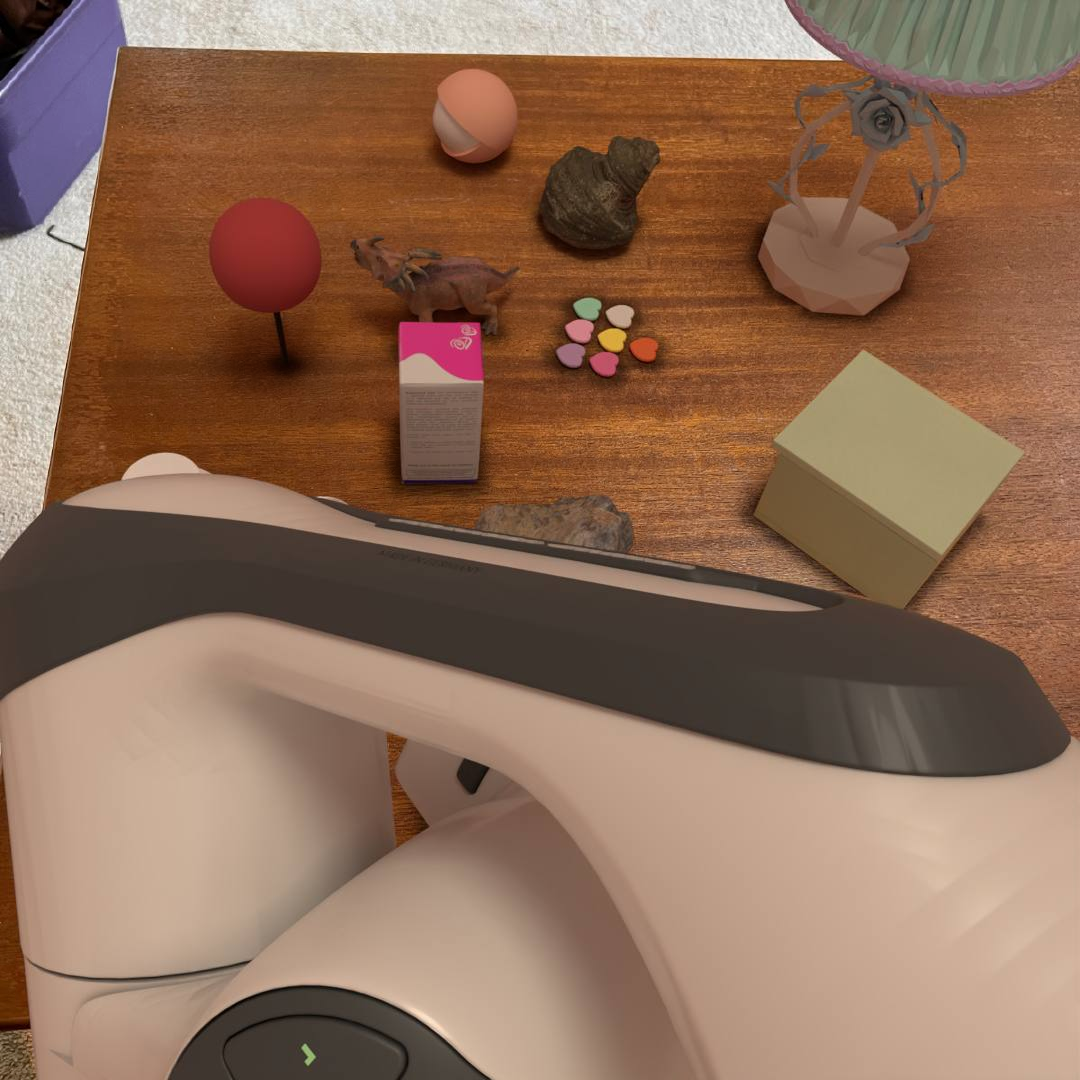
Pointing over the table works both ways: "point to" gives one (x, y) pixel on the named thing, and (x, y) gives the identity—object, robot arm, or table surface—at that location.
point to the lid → (898, 453)
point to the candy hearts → (603, 338)
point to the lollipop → (265, 258)
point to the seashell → (597, 193)
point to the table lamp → (900, 126)
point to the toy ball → (474, 116)
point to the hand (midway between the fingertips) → (752, 762)
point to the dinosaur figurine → (434, 280)
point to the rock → (564, 522)
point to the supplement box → (440, 402)
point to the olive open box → (845, 536)
